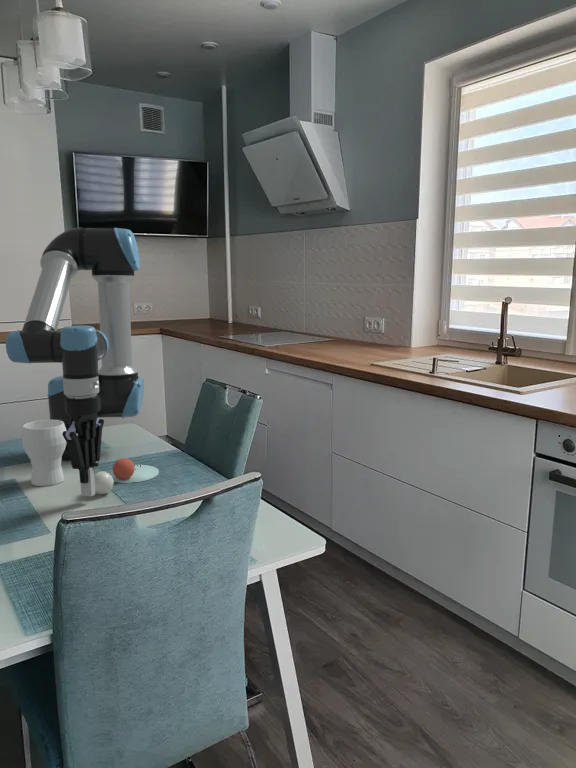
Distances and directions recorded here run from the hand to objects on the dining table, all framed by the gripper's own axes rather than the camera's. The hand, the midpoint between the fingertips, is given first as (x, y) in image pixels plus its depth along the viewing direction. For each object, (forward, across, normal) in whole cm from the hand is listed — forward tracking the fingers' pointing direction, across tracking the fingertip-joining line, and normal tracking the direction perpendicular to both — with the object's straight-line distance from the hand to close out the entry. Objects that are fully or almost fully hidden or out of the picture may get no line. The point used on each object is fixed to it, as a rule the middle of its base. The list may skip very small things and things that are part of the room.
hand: (88, 494), depth 135 cm
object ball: (-1, +16, 0) cm, 16 cm away
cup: (+2, +10, +18) cm, 21 cm away
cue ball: (-1, +6, 0) cm, 6 cm away
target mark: (+2, +20, 0) cm, 20 cm away
